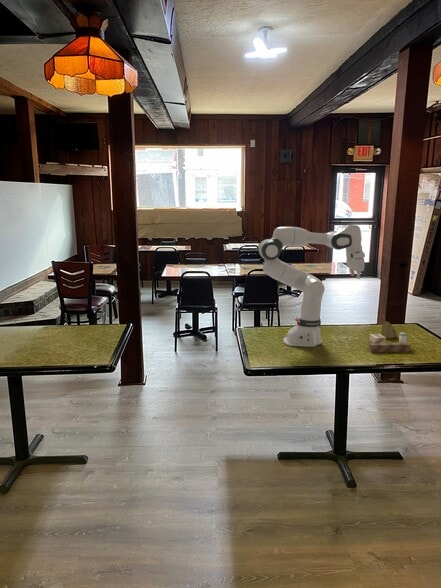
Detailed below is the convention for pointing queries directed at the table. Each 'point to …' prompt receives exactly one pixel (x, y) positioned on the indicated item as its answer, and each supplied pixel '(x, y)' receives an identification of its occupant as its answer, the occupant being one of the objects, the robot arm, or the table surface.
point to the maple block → (377, 338)
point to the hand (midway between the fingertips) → (355, 277)
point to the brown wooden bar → (389, 347)
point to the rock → (388, 330)
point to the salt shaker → (402, 337)
